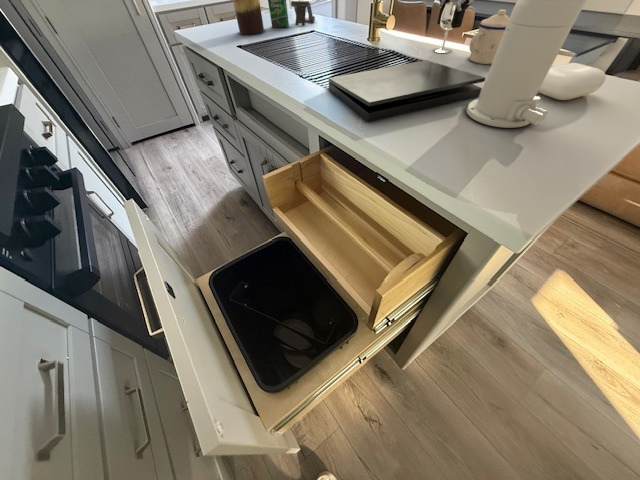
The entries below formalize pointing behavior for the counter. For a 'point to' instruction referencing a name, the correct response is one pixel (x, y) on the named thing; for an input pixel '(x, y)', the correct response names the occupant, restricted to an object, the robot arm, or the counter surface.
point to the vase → (249, 16)
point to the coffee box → (278, 13)
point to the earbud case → (571, 81)
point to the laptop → (406, 101)
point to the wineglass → (447, 21)
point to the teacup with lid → (488, 38)
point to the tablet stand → (302, 11)
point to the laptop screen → (403, 82)
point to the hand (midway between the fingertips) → (448, 24)
